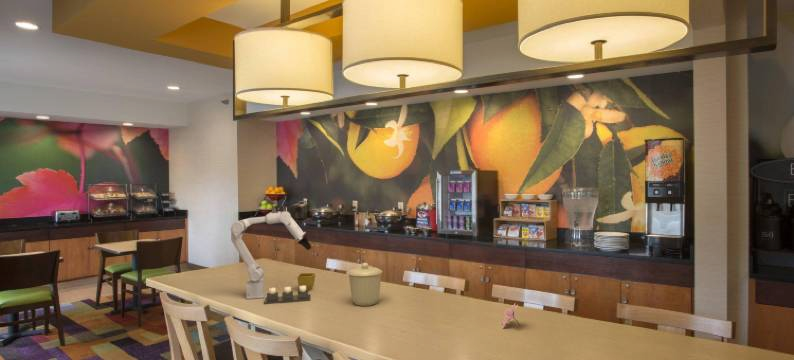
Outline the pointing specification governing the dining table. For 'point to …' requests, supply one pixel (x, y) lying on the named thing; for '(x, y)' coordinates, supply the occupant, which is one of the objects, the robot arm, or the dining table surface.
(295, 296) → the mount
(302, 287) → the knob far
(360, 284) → the canister
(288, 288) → the knob middle
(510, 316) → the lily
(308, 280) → the flower pot
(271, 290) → the knob near
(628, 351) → the dining table surface
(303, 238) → the robot arm
